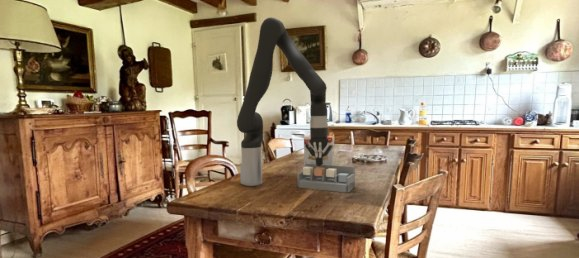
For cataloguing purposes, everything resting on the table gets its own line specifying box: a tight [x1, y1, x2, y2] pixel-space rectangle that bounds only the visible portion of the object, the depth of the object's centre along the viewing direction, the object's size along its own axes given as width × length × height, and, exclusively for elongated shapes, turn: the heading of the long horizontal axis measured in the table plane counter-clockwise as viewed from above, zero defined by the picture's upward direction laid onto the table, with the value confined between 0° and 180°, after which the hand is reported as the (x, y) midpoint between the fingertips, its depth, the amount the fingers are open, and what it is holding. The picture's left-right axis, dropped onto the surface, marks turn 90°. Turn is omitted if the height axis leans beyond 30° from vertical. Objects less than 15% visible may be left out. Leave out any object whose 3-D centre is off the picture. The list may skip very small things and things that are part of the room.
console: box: [296, 163, 356, 194], centre depth 143 cm, size 23×10×9 cm, turn 63°
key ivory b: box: [326, 168, 337, 177], centre depth 142 cm, size 4×4×3 cm
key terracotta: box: [314, 167, 325, 176], centre depth 144 cm, size 4×4×3 cm
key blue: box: [338, 173, 349, 182], centre depth 139 cm, size 4×4×3 cm
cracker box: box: [303, 135, 335, 168], centre depth 159 cm, size 14×6×21 cm, turn 73°
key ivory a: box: [302, 167, 313, 175], centre depth 147 cm, size 4×4×3 cm
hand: (319, 165), depth 144 cm, fingers closed
